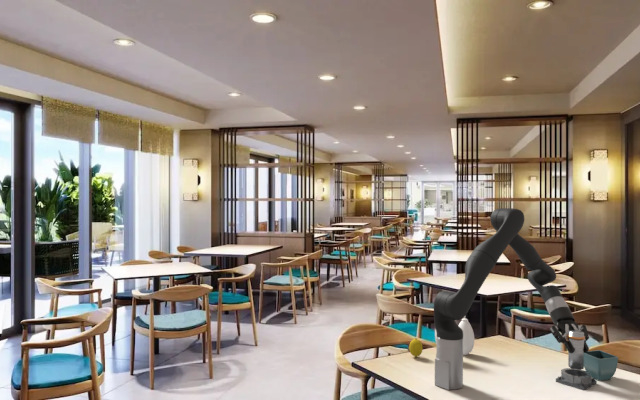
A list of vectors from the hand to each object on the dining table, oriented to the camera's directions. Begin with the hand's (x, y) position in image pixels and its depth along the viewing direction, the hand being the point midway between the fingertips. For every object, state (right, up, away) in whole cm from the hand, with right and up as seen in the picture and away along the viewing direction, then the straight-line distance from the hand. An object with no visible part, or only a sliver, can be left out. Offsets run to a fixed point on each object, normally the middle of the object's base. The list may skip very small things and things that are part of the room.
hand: (579, 351), depth 176 cm
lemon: (-53, -12, +30) cm, 62 cm away
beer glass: (-42, -12, +28) cm, 52 cm away
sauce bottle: (-32, -12, +34) cm, 48 cm away
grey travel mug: (0, -6, +2) cm, 6 cm away
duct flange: (0, -12, +2) cm, 12 cm away
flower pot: (+11, -12, +7) cm, 18 cm away
